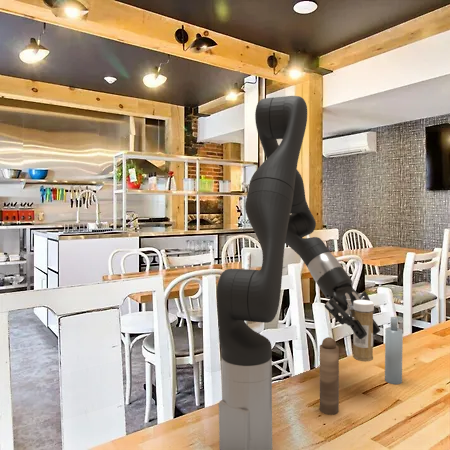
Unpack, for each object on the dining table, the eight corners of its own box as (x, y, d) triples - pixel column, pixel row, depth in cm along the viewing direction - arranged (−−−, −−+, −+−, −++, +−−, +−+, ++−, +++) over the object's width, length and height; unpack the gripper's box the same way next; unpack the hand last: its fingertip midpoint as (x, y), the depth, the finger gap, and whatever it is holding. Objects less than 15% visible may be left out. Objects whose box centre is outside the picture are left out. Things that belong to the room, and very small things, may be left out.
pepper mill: (333, 416, 90) (333, 342, 89) (316, 410, 92) (316, 338, 91) (341, 409, 93) (341, 337, 92) (324, 403, 95) (324, 333, 94)
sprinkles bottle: (377, 359, 98) (378, 301, 98) (364, 363, 96) (365, 304, 95) (361, 353, 102) (361, 298, 101) (348, 357, 100) (349, 300, 99)
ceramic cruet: (399, 385, 104) (399, 321, 103) (382, 381, 106) (383, 318, 105) (404, 380, 107) (405, 317, 106) (387, 376, 109) (388, 314, 108)
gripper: (317, 268, 100) (361, 332, 91) (356, 263, 108) (399, 320, 99) (301, 287, 104) (340, 349, 95) (339, 280, 113) (378, 337, 104)
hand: (370, 334), depth 97 cm, fingers closed on sprinkles bottle, 4 cm apart
